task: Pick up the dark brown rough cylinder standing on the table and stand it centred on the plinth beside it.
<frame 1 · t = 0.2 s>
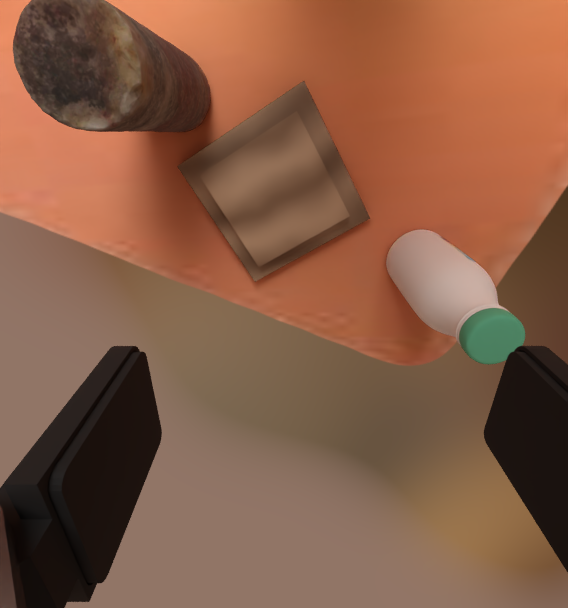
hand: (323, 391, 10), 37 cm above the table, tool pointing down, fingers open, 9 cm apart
plinth: (276, 190, 43), on the table
milk bottle: (414, 257, 46), on the table
dark brown rough cylinder: (176, 92, 38), on the table
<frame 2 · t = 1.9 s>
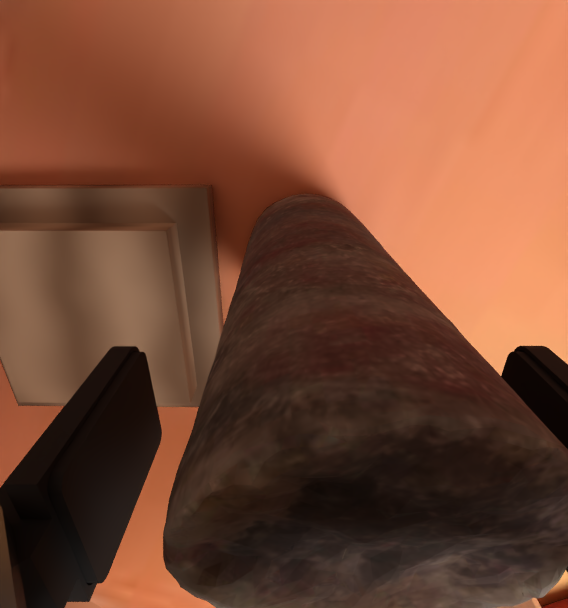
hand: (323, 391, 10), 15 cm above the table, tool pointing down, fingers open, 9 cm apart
plinth: (109, 303, 26), on the table
dark brown rough cylinder: (307, 247, 24), on the table
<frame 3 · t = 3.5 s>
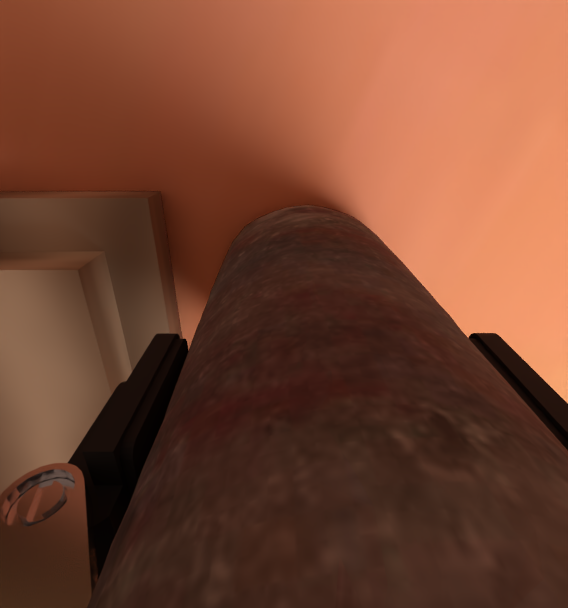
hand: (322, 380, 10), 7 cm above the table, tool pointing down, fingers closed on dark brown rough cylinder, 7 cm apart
plinth: (24, 358, 18), on the table
dark brown rough cylinder: (308, 281, 16), on the table, touching gripper
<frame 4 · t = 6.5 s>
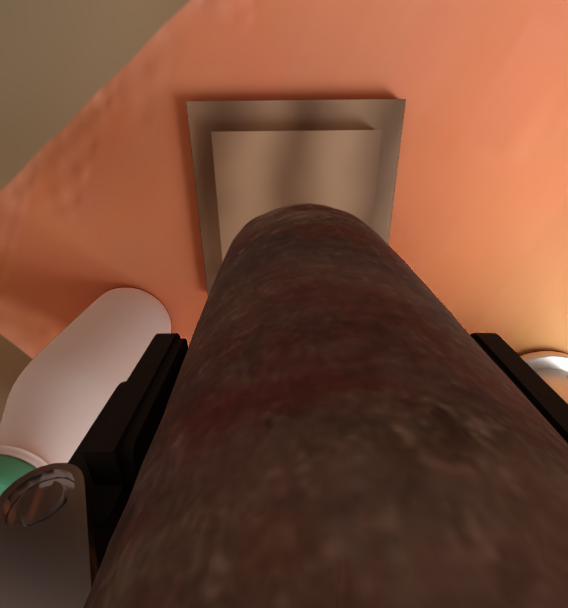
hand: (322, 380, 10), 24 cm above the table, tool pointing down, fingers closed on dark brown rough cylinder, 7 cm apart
plinth: (294, 207, 31), on the table
milk bottle: (135, 319, 36), on the table
dark brown rough cylinder: (308, 280, 16), point 17 cm above the table, touching gripper
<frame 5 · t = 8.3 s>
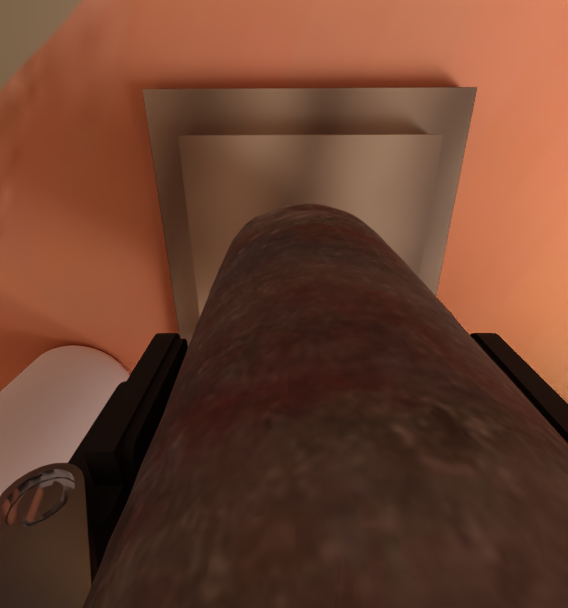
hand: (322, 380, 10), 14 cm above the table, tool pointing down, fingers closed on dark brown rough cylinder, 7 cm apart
plinth: (304, 242, 22), on the table
milk bottle: (88, 383, 27), on the table
dark brown rough cylinder: (308, 279, 16), point 6 cm above the table, touching gripper
when the fingers open (11 cm above the table, at t = 9.8 s): dark brown rough cylinder stays where it is, resting on plinth.
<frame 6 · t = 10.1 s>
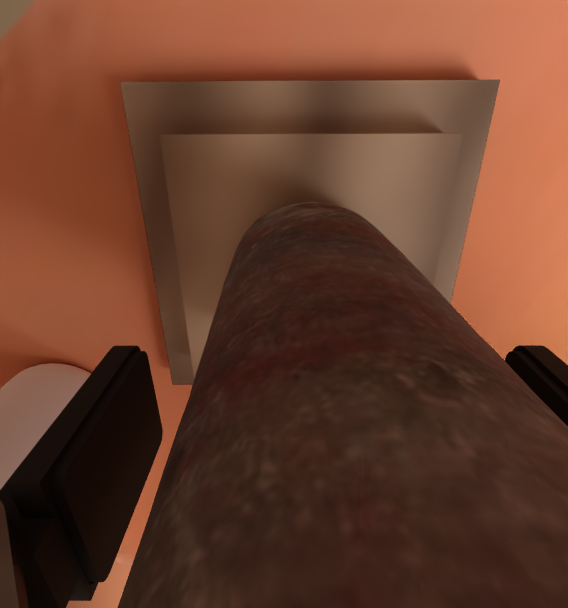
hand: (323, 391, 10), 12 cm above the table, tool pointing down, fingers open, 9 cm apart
plinth: (303, 252, 20), on the table
milk bottle: (71, 403, 25), on the table
dark brown rough cylinder: (313, 274, 17), point 3 cm above the table, touching plinth
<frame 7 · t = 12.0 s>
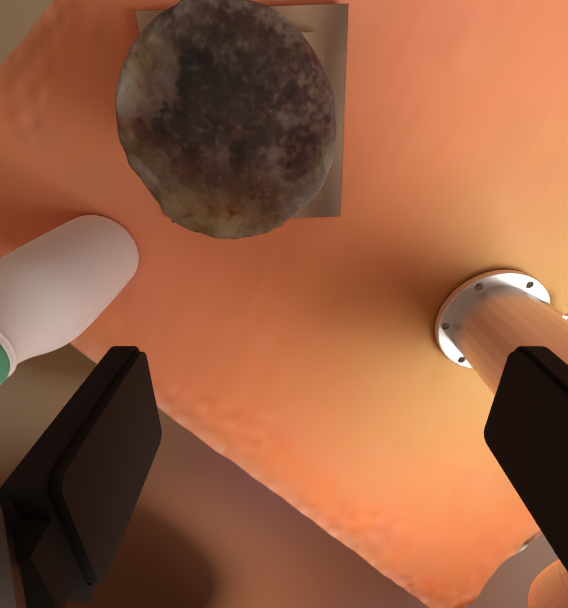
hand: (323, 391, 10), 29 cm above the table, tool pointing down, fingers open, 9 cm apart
plinth: (250, 125, 32), on the table
milk bottle: (103, 250, 37), on the table
dark brown rough cylinder: (252, 126, 29), point 3 cm above the table, touching plinth
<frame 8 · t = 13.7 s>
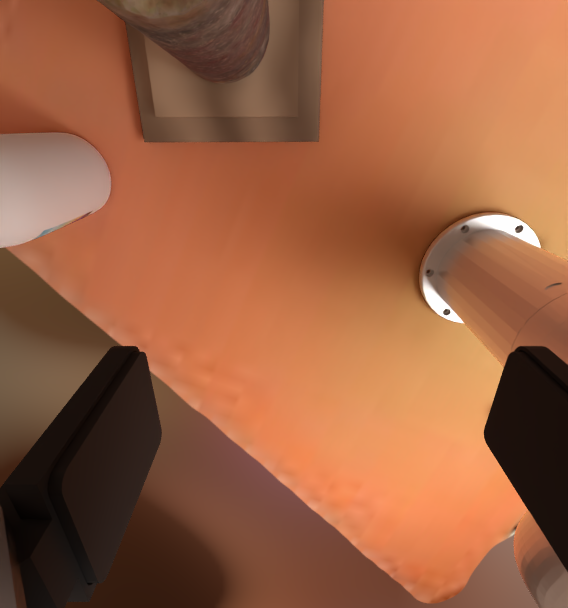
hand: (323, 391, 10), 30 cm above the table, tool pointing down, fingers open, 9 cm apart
plinth: (227, 39, 31), on the table
milk bottle: (75, 174, 36), on the table
dark brown rough cylinder: (225, 30, 28), point 3 cm above the table, touching plinth
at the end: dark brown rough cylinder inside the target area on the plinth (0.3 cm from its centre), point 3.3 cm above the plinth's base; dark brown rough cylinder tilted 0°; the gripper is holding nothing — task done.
